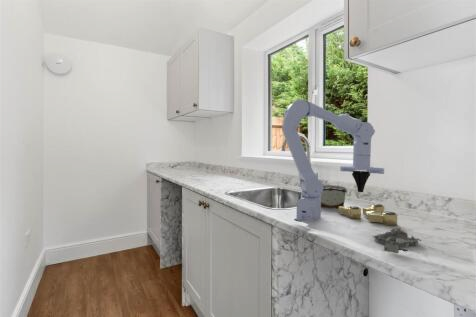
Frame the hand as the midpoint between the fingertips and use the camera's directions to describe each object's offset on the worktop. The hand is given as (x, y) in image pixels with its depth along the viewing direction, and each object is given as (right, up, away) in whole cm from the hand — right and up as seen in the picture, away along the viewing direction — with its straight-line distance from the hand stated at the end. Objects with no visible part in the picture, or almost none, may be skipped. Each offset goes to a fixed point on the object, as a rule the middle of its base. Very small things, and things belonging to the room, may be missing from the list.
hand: (360, 191), depth 93 cm
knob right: (+4, -10, -8) cm, 13 cm away
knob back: (+6, -9, +2) cm, 11 cm away
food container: (-5, -10, +16) cm, 19 cm away
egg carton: (-2, -12, -24) cm, 27 cm away
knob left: (-4, -9, +1) cm, 10 cm away
